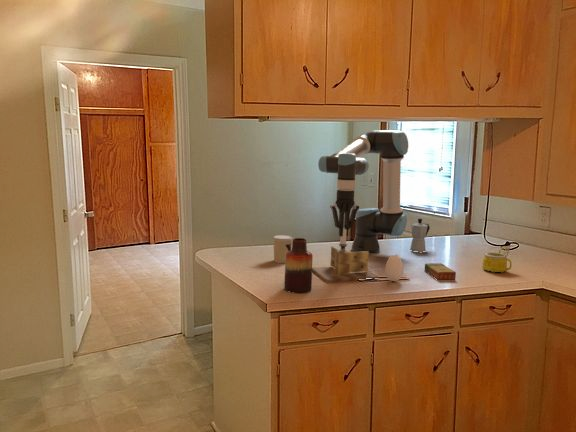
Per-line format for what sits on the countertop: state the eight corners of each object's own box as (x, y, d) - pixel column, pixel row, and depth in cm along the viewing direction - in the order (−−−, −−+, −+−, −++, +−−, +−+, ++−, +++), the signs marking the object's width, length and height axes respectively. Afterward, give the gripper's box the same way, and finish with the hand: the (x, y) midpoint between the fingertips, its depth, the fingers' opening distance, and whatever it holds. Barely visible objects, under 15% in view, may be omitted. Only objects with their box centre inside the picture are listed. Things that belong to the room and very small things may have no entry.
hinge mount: (358, 267, 240) (359, 244, 238) (378, 279, 221) (380, 254, 219) (310, 270, 233) (311, 246, 231) (327, 282, 213) (328, 256, 212)
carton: (437, 281, 222) (437, 271, 221) (423, 271, 237) (424, 262, 237) (455, 281, 222) (456, 271, 222) (441, 271, 238) (441, 262, 238)
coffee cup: (289, 264, 242) (290, 239, 240) (270, 262, 244) (271, 238, 242) (293, 259, 251) (294, 235, 249) (274, 258, 253) (275, 234, 251)
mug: (481, 272, 238) (483, 246, 237) (482, 266, 248) (484, 242, 246) (510, 275, 233) (513, 250, 231) (511, 270, 243) (513, 245, 241)
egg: (389, 284, 214) (390, 257, 212) (381, 279, 221) (383, 253, 219) (405, 283, 215) (407, 256, 213) (397, 278, 222) (399, 252, 221)
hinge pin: (343, 266, 225) (345, 243, 224) (346, 268, 222) (348, 244, 221) (337, 267, 224) (338, 243, 223) (340, 269, 221) (341, 245, 220)
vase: (279, 287, 205) (280, 238, 201) (300, 283, 211) (302, 235, 208) (294, 294, 196) (296, 243, 193) (316, 290, 202) (318, 240, 199)
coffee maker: (417, 254, 272) (419, 220, 269) (404, 250, 278) (406, 218, 275) (433, 250, 281) (436, 218, 278) (420, 247, 288) (423, 216, 285)
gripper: (355, 188, 223) (353, 241, 227) (328, 188, 219) (325, 242, 223) (363, 190, 216) (360, 244, 220) (334, 190, 212) (332, 245, 216)
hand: (343, 243), depth 222 cm, fingers closed
